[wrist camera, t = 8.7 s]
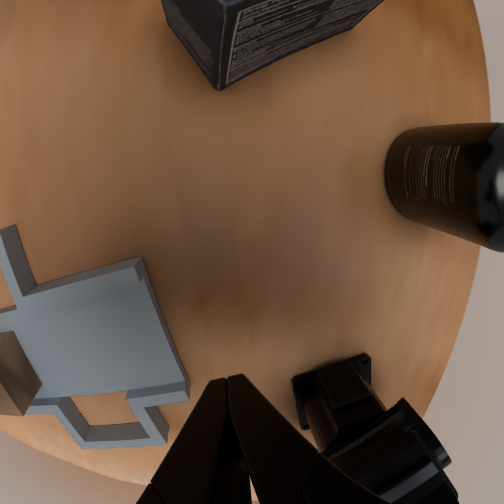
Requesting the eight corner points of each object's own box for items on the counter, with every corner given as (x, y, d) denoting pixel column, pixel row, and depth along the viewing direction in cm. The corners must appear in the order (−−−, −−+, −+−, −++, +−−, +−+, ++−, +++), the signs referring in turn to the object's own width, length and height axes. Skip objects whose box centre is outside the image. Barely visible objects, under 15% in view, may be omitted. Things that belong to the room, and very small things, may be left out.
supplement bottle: (423, 239, 20) (551, 302, 9) (364, 180, 19) (520, 214, 7) (464, 170, 19) (590, 195, 8) (413, 107, 18) (557, 92, 6)
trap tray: (120, 184, 17) (110, 186, 15) (208, 420, 22) (208, 438, 20) (-63, 263, 15) (-76, 270, 13) (30, 432, 21) (23, 445, 19)
